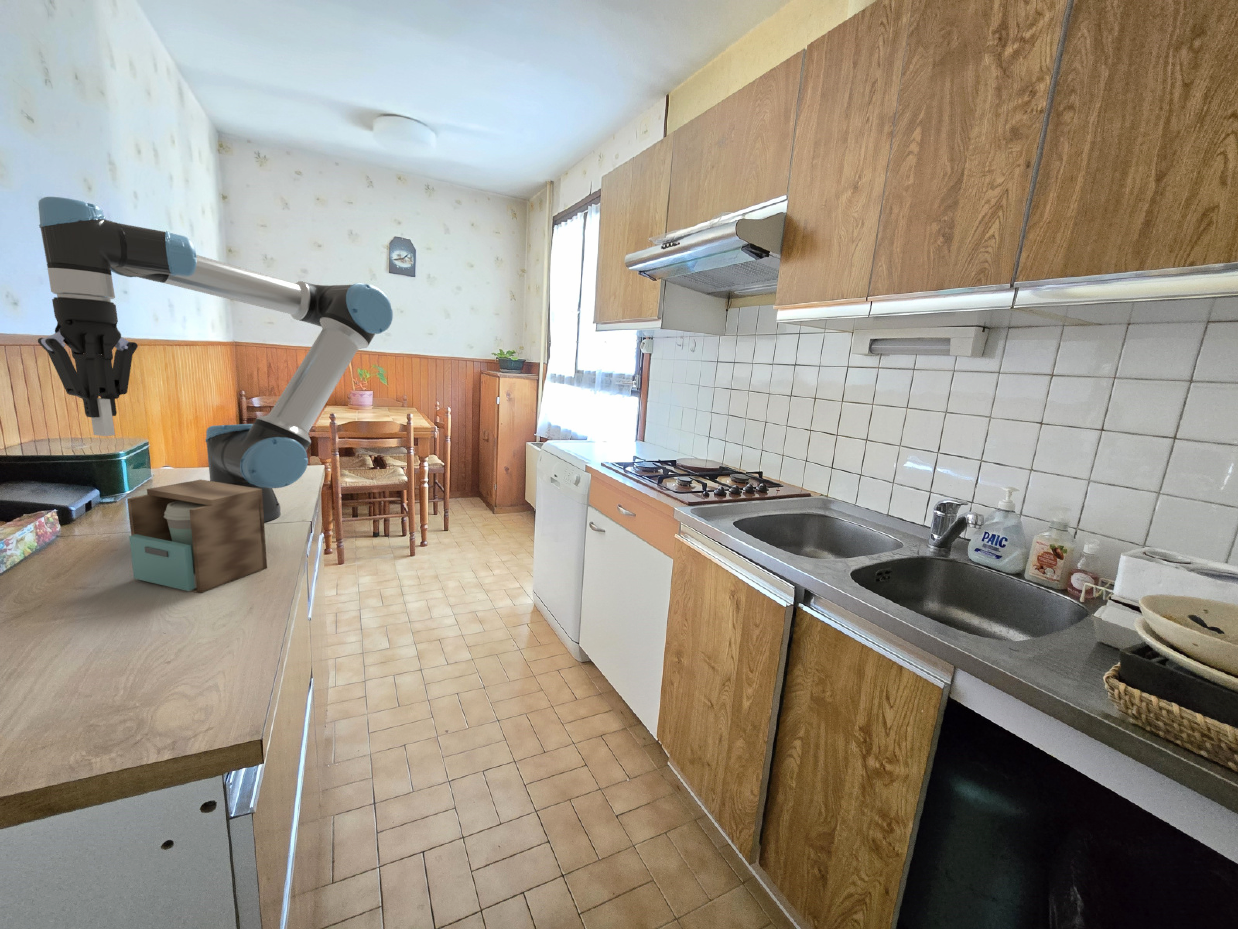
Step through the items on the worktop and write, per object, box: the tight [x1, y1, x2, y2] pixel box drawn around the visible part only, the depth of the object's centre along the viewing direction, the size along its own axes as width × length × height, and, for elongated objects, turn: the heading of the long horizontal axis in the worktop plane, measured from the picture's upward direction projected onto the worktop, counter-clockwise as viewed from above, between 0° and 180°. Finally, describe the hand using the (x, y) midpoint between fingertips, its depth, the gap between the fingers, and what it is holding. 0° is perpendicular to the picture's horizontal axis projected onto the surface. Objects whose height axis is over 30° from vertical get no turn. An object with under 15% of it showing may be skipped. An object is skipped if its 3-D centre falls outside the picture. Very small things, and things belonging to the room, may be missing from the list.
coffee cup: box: [164, 500, 207, 573], centre depth 90 cm, size 9×8×12 cm
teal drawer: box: [128, 534, 197, 592], centre depth 90 cm, size 12×13×8 cm
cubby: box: [126, 479, 268, 594], centre depth 91 cm, size 12×15×16 cm
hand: (104, 434), depth 91 cm, fingers closed
